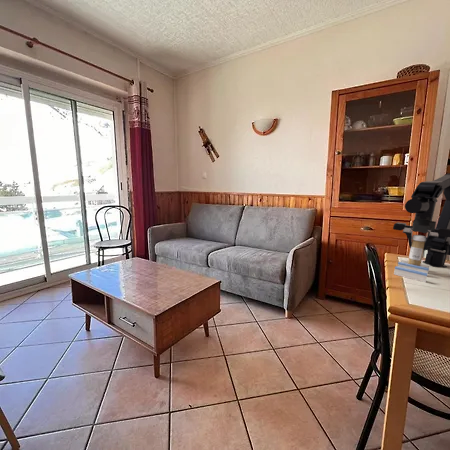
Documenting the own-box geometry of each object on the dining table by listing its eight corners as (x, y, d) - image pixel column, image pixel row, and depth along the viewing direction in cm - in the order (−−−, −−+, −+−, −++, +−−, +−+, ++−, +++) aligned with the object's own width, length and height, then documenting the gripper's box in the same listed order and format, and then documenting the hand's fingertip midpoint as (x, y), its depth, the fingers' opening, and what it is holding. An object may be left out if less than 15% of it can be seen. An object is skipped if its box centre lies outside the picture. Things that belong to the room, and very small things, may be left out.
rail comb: (400, 264, 110) (401, 257, 109) (428, 270, 103) (430, 263, 102) (393, 274, 96) (394, 267, 96) (425, 282, 90) (427, 274, 89)
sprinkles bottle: (422, 266, 102) (428, 236, 99) (418, 268, 99) (424, 237, 97) (409, 263, 106) (415, 234, 103) (405, 265, 103) (411, 235, 101)
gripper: (394, 211, 99) (387, 247, 101) (455, 217, 86) (446, 258, 89) (398, 209, 107) (392, 243, 109) (455, 215, 94) (446, 253, 97)
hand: (417, 249), depth 101 cm, fingers closed on sprinkles bottle, 4 cm apart
